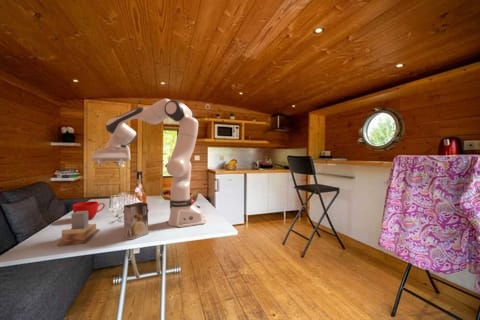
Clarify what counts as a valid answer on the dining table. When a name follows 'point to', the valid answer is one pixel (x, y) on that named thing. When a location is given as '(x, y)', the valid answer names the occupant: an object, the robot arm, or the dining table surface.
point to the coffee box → (135, 220)
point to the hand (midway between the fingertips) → (109, 165)
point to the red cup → (88, 208)
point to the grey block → (79, 219)
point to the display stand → (78, 235)
